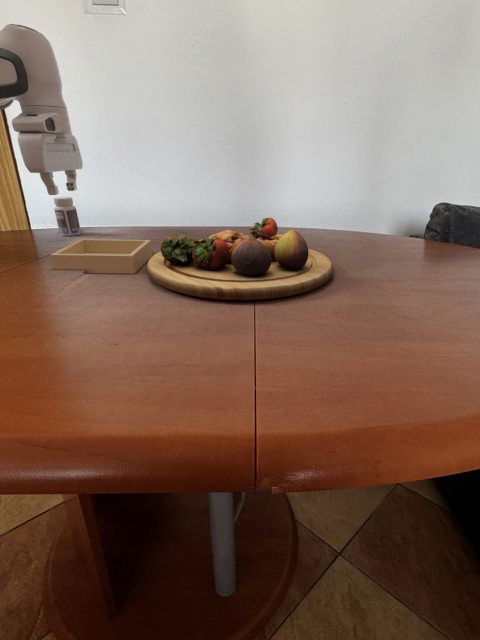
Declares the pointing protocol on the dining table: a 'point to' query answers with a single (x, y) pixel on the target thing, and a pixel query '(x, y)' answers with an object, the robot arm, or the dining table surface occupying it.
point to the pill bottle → (66, 216)
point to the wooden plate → (240, 264)
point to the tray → (104, 256)
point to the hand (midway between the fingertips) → (63, 192)
